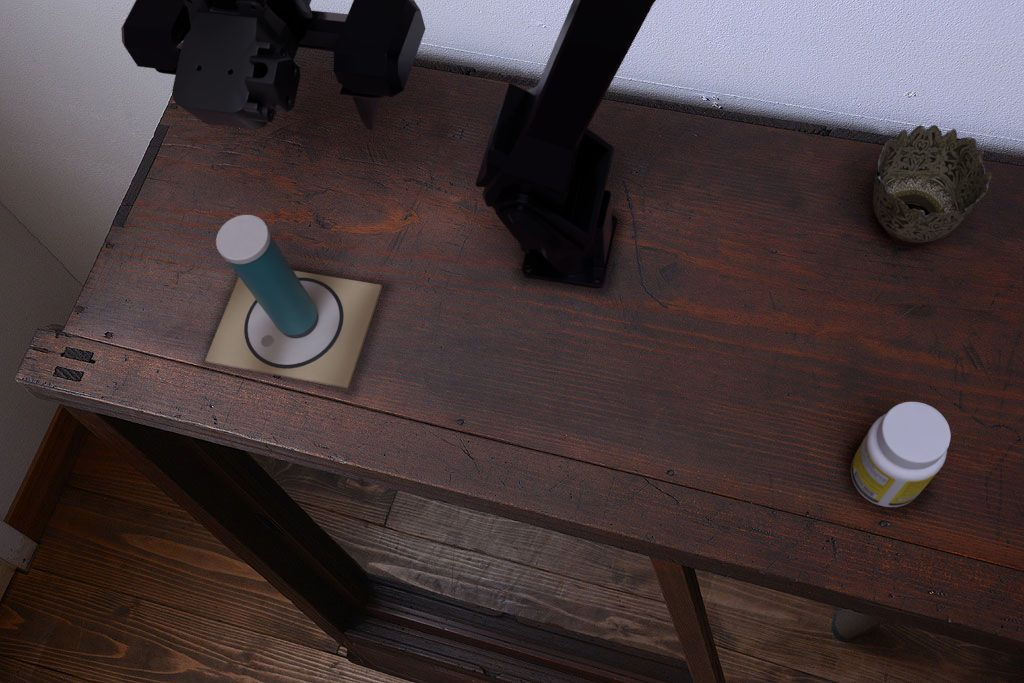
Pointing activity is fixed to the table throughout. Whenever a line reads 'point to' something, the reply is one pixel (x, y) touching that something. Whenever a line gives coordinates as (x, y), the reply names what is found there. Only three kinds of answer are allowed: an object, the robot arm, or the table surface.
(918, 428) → the supplement bottle
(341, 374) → the sketch board
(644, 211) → the table surface
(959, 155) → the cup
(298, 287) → the paint dauber
